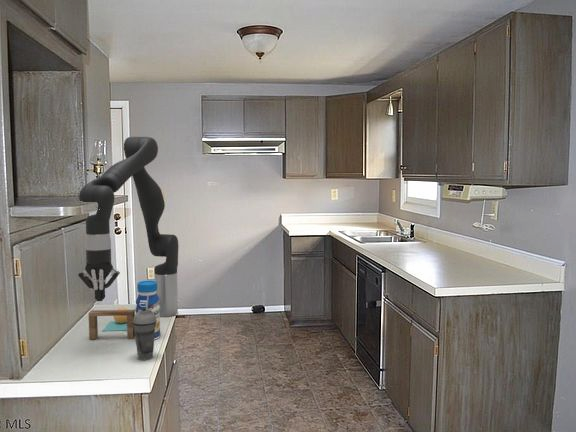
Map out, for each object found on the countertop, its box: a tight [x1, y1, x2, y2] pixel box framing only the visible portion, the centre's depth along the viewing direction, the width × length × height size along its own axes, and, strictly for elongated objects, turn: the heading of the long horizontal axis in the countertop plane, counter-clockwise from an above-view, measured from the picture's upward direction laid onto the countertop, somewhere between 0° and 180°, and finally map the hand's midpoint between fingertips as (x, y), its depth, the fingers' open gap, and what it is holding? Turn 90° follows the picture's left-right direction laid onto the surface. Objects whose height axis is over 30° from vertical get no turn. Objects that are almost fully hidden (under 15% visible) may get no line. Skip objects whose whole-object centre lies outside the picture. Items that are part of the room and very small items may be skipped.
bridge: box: [88, 309, 136, 341], centre depth 170 cm, size 3×15×10 cm, turn 95°
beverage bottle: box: [134, 280, 161, 341], centre depth 170 cm, size 8×8×20 cm
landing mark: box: [101, 320, 127, 332], centre depth 184 cm, size 12×12×1 cm
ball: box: [113, 307, 128, 323], centre depth 187 cm, size 6×6×6 cm
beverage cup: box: [133, 295, 157, 361], centre depth 152 cm, size 7×7×20 cm
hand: (100, 300), depth 156 cm, fingers closed
